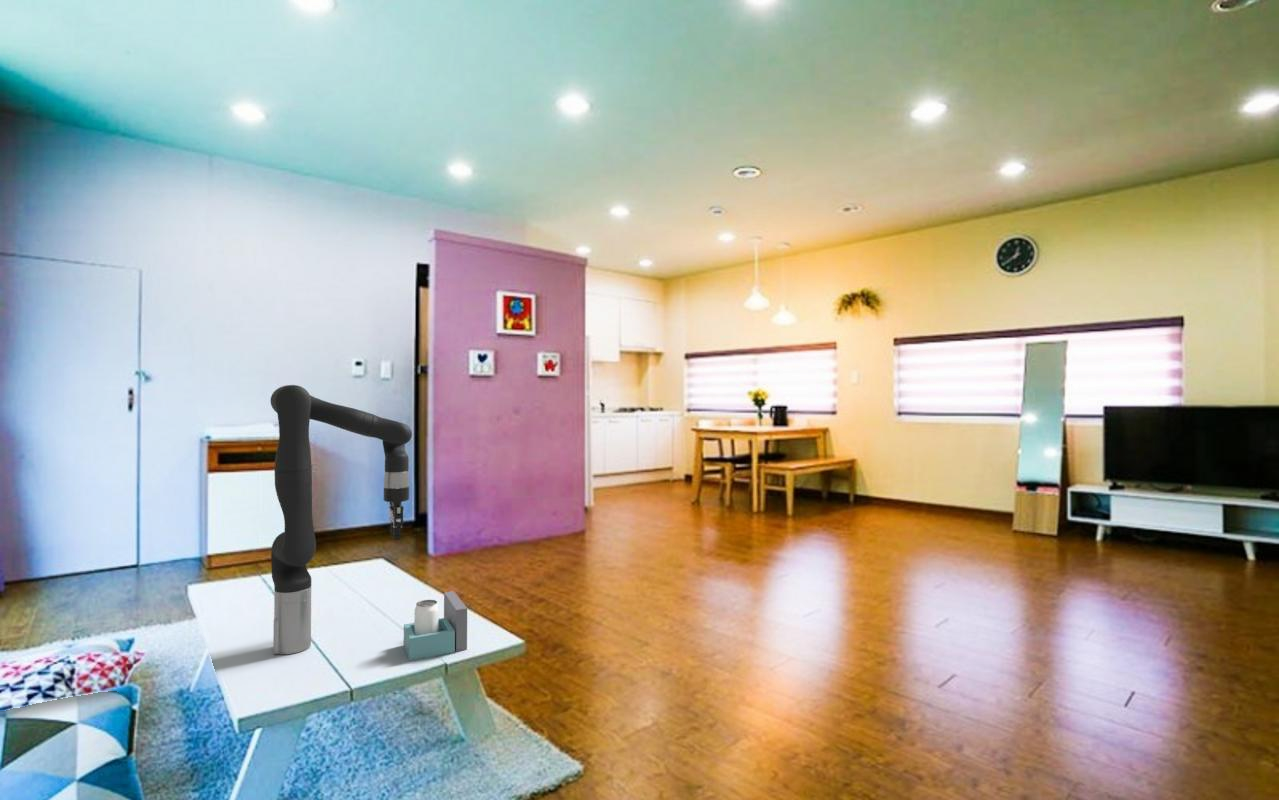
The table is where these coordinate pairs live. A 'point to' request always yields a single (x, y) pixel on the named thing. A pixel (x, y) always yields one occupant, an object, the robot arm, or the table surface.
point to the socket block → (429, 641)
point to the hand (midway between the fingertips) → (396, 536)
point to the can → (426, 617)
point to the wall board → (456, 618)
